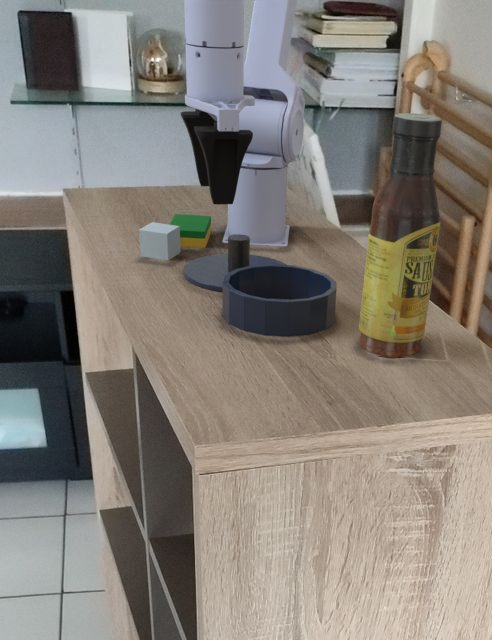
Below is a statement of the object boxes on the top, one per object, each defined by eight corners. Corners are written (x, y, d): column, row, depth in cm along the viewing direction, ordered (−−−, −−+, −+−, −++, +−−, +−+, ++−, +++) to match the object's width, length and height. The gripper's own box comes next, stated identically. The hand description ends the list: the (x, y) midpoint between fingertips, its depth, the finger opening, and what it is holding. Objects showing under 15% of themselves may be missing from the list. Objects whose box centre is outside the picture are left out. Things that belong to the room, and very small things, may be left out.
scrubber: (175, 234, 113) (174, 213, 111) (211, 236, 113) (211, 216, 112) (168, 250, 107) (167, 229, 106) (205, 252, 108) (205, 231, 106)
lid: (190, 260, 105) (189, 219, 102) (294, 266, 105) (296, 225, 102) (177, 295, 95) (175, 250, 92) (291, 301, 95) (293, 257, 93)
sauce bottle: (403, 368, 83) (433, 126, 70) (345, 351, 85) (364, 115, 73) (433, 347, 87) (467, 116, 75) (377, 332, 90) (400, 106, 77)
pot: (228, 299, 95) (228, 261, 93) (333, 305, 95) (336, 267, 93) (218, 338, 86) (218, 297, 84) (334, 344, 87) (337, 304, 84)
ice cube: (153, 253, 106) (152, 222, 104) (180, 257, 106) (179, 225, 104) (140, 261, 104) (138, 229, 102) (168, 265, 103) (167, 233, 101)
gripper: (271, 55, 83) (267, 211, 92) (239, 37, 94) (239, 177, 102) (196, 53, 82) (199, 212, 90) (172, 35, 92) (177, 178, 101)
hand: (216, 194), depth 96 cm, fingers open, 7 cm apart
